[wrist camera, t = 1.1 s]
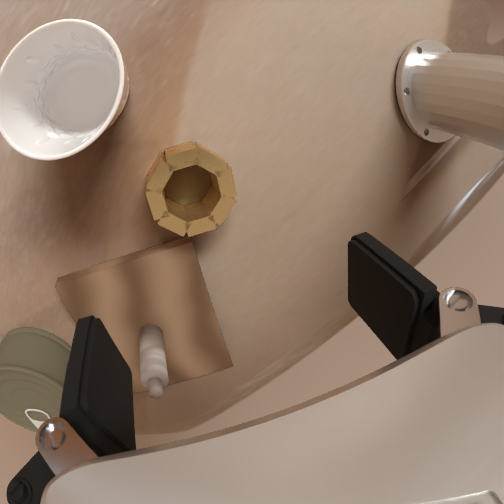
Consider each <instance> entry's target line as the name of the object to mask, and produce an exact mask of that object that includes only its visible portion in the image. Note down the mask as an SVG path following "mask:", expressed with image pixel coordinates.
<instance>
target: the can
mask: <svg viewBox="0 0 504 504" xmlns="http://www.w3.org/2000/svg"><path fill="white" fill-rule="evenodd" d="M70 352H71V346H70V345H69V344H68V343H66V342H65V341H64V340H62V339H61V338H59V337H58V336H56V335H54V334H52V333H50V332H47V331H44V330H41V329H38V328H31V327H21V328H17V329H14V330H11V331H10V332H8V333H7V334H6V335H5V337H4V338H3V340H2V343H1V345H0V413H1V414H3V415H4V416H5V417H6V418H8V419H9V420H11V421H12V422H14V423H16V424H17V425H19V426H21V427H24V428H26V429H28V430H31V431H34V432H37V431H38V429H39V427H40V426H41V425H42V423H43V422H45V421H46V420H48V419H50V418H53V417H59V414H60V406H61V399H62V392H63V386H64V380H65V375H66V369H67V364H68V361H69V357H70Z"/></svg>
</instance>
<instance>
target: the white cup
mask: <svg viewBox="0 0 504 504" xmlns="http://www.w3.org/2000/svg"><path fill="white" fill-rule="evenodd" d="M128 95H129V77H128V72H127V68H126V65H125V63H124V60H123V58H122V56H121V53H120V51H119V49H118V47H117V45H116V43H115V42H114V40H113V39H112V38H111V36H110V35H109V34H108V33H107V32H106V31H105V30H103V29H102V28H100V27H99V26H97V25H95V24H93V23H91V22H88V21H84V20H79V19H63V20H57V21H53V22H50V23H47V24H45V25H43V26H41V27H39V28H37V29H35V30H33V31H32V32H30V33H29V34H28V35H26V36H25V37H24V38H23V39H22V40H21V41H20V42H19V43H18V44H17V45H16V46H15V47H14V48H13V49H12V51H11V52H10V53H9V55H8V56H7V58H6V59H5V61H4V63H3V65H2V67H1V69H0V132H1V134H2V136H3V137H4V139H5V140H6V142H7V143H8V144H9V145H10V146H11V147H12V148H13V149H15V150H16V151H17V152H19V153H20V154H22V155H24V156H27V157H29V158H32V159H37V160H58V159H62V158H66V157H69V156H71V155H74V154H76V153H78V152H80V151H81V150H83V149H84V148H86V147H87V146H89V145H90V144H91V143H93V142H94V141H95V140H96V139H97V138H98V137H99V136H100V135H101V134H102V133H103V132H105V131H106V130H107V129H108V128H109V127H110V126H111V125H112V124H113V123H114V122H115V120H116V119H117V118H118V116H119V115H120V113H121V112H122V111H123V109H124V107H125V104H126V101H127V98H128Z"/></svg>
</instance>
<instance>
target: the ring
mask: <svg viewBox="0 0 504 504" xmlns="http://www.w3.org/2000/svg"><path fill="white" fill-rule="evenodd" d="M196 164H197V165H199V166H200V167H202V168H204V169H206V170H208V171H209V172H210V175H211V179H212V186H211V187H210V189H209V190H208V192H207V194H206V195H205V197H204V198H203V200H202V201H199V202H195V203H192V204H189V205H185V206H182V205H180V204H178V203H176V202H174V201H172V200H171V199H169V198H167V197H166V195H165V191H164V187H165V185H166V183H167V182H168V180H169V178H170V176H171V175H172V173H173V171H175V170H179V169H182V168H186V167H189V166H193V165H196ZM145 193H146V196H147V200H148V203H149V206H150V209H151V212H152V215H153V218H154V221H155V220H157V221H158V225H160V226H162V227H164V228H166V229H168V230H170V231H172V232H175V233H177V234H179V235H181V236H183V237H184V235H185V233H186V232H187V234H188V237H191V236H194V235H197V234H200V233H204V232H207V231H210V230H214V229H217V228H216V224H215V223H217V224H218V225H220V226H221V224H222V223H223V221H224V220H225V218H226V216H227V215H228V213H229V212H230V210H231V209H232V207H233V205H234V204H235V202H236V200H235V199H234V198H233V197H236V196H237V193H236V188H235V183H234V178H233V174H232V169H231V167H230V166H229V165H228V163H227V162H226V161H225V160H223V159H222V158H221V157H220V156H219V155H217V154H216V153H214V152H212V151H211V150H209V149H207V148H205V147H204V146H202V145H200V144H198V143H197V142H195V144H193V143H192V142H187V143H183V144H180V145H176V146H173V147H169V148H166V149H165V154H164V153H162V152H160V154H159V156H158V157H157V159H156V161H155V163H154V164H153V166H152V168H151V170H150V171H149V173H148V175H147V182H146V192H145Z"/></svg>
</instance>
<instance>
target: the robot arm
mask: <svg viewBox="0 0 504 504" xmlns="http://www.w3.org/2000/svg"><path fill="white" fill-rule="evenodd" d="M396 94H397V99H398V104H399V107H400V110H401V113H402V115H403V117H404V119H405V121H406V123H407V125H408V126H409V127H410V129H411V130H412V131H413V132H414V133H415V134H416V135H417V136H419V137H420V138H422V139H424V140H427V141H430V142H435V143H440V142H445V141H447V140H449V139H451V138H452V137H453V136H454V135H457V136H460V137H464V138H467V139H470V140H474V141H477V142H480V143H483V144H486V145H489V146H492V147H495V148H498V149H501V150H504V56H496V55H486V54H472V53H453V52H452V51H451V50H450V49H449V48H448V47H447V46H445V45H444V44H442V43H440V42H438V41H435V40H419V41H416V42H414V43H412V44H411V45H410V46H408V47H407V48H406V50H405V51H404V53H403V54H402V56H401V58H400V61H399V63H398V68H397V72H396ZM436 289H437V287H436V285H434V284H433V283H432V282H431V281H430V280H428V279H427V278H426V277H425V276H423V275H422V274H421V273H420V272H418V271H417V270H416V269H415V268H413V267H412V266H411V265H409V264H408V263H407V262H406V261H404V260H403V259H402V258H400V257H399V256H398V255H397V254H395V253H394V252H393V251H391V250H390V249H389V248H387V247H386V246H385V245H383V244H382V243H381V242H379V241H378V240H377V239H375V238H374V237H373V236H371V235H370V234H369V233H367V232H364V233H361V234H358V235H355V236H353V237H352V238H351V241H349V242H348V300H349V303H350V305H351V307H352V308H353V309H354V310H355V311H356V312H357V313H358V315H359V316H360V317H361V318H362V319H363V320H364V322H365V323H366V324H367V325H368V326H369V327H370V328H371V330H372V331H373V332H374V333H375V334H376V336H377V337H378V338H379V339H380V340H381V342H382V343H383V344H384V345H385V346H386V347H387V349H388V350H389V351H390V352H391V353H392V355H393V356H394V357H395V358H396V359H397V360H396V361H394V362H393V363H390V364H389V365H387V366H385V367H383V368H381V369H379V370H376V371H375V372H372V373H370V374H368V375H366V376H364V377H362V378H360V379H357V380H355V381H354V382H351V383H349V384H346V385H344V386H342V387H340V388H337V389H335V390H333V391H330V392H328V393H325V394H323V395H321V396H318V397H316V398H313V399H311V400H308V401H306V402H303V403H301V404H298V405H295V406H292V407H290V408H287V409H285V410H282V411H279V412H276V413H273V414H270V415H267V416H264V417H261V418H258V419H256V420H252V421H249V422H246V423H243V424H239V425H236V426H233V427H229V428H226V429H223V430H219V431H215V432H212V433H208V434H204V435H201V436H196V437H193V438H188V439H185V440H180V441H175V442H171V443H166V444H162V445H157V446H153V447H148V448H143V449H138V450H136V443H135V429H134V412H133V384H132V372H131V369H130V367H129V365H128V364H127V362H126V361H125V359H124V358H123V356H122V354H121V353H120V351H119V350H118V348H117V346H116V345H115V343H114V341H113V340H112V338H111V336H110V335H109V333H108V331H107V330H106V328H105V326H104V324H103V323H102V321H101V319H100V318H95V317H94V316H93V315H91V316H87V317H84V318H80V319H78V321H77V325H76V329H75V334H74V338H73V343H72V347H71V352H70V357H69V361H68V364H67V369H66V375H65V380H64V386H63V392H62V399H61V406H60V414H59V417H53V418H50V419H48V420H46V421H45V422H43V423H42V425H41V426H40V427H39V429H38V431H37V433H36V438H35V442H36V446H37V448H38V450H39V451H38V452H37V453H36V454H35V455H34V456H33V457H32V458H31V459H30V461H29V462H28V463H27V464H26V465H25V466H24V467H23V468H22V469H21V470H20V471H19V472H18V474H17V475H16V476H15V477H14V478H13V479H12V480H11V482H10V483H9V485H8V488H7V500H8V503H9V504H504V308H500V307H492V306H484V305H478V304H477V300H476V298H475V296H474V295H473V294H472V293H471V292H470V291H468V290H466V289H464V288H460V287H449V288H446V289H444V290H443V291H442V292H441V293H439V292H438V291H437V290H436Z"/></svg>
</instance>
